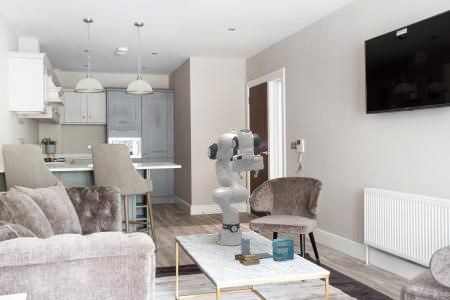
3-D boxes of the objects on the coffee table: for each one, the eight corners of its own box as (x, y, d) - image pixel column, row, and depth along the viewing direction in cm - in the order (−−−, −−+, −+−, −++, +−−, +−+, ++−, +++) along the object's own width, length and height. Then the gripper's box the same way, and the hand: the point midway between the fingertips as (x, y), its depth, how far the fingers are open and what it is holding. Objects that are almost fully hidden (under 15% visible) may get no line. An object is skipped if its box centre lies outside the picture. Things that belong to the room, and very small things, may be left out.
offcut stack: (242, 263, 260) (242, 255, 260) (256, 261, 263) (256, 254, 263) (245, 265, 256) (245, 257, 255) (260, 263, 259) (259, 255, 259)
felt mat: (250, 255, 278) (250, 254, 278) (266, 253, 282) (266, 252, 282) (257, 259, 269) (257, 258, 269) (274, 257, 273) (274, 256, 273)
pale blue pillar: (241, 259, 269) (241, 237, 268) (246, 259, 270) (245, 237, 269) (245, 262, 263) (244, 239, 263) (250, 261, 264) (249, 239, 264)
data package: (276, 261, 263) (275, 240, 263) (272, 259, 267) (272, 239, 267) (294, 259, 268) (293, 238, 267) (290, 257, 272) (289, 237, 272)
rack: (234, 259, 269) (234, 254, 269) (250, 257, 273) (250, 252, 273) (241, 263, 260) (240, 258, 260) (257, 261, 264) (256, 256, 264)
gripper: (261, 154, 286) (262, 175, 287) (229, 157, 281) (231, 179, 282) (264, 154, 280) (266, 176, 281) (232, 157, 275) (234, 180, 276)
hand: (248, 178), depth 282 cm, fingers open, 8 cm apart
